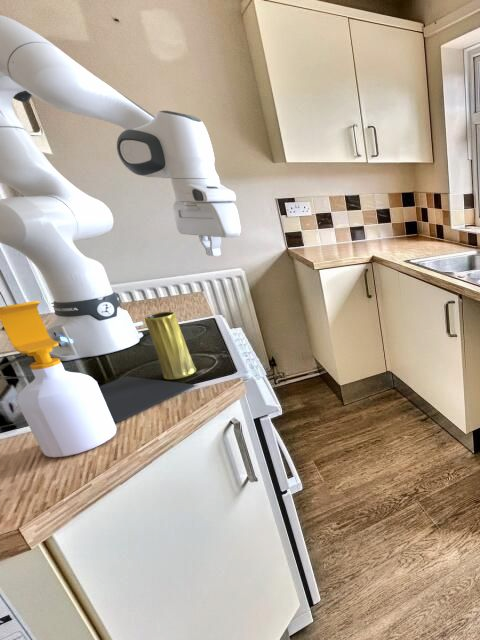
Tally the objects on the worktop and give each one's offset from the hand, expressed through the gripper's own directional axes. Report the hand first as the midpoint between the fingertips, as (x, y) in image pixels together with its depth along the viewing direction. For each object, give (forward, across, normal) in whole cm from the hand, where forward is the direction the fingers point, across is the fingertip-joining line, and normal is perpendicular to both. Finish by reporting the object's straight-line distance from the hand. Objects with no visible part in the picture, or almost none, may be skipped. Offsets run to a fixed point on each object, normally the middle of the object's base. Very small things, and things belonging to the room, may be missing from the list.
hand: (214, 255), depth 99 cm
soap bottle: (+26, +16, -35) cm, 46 cm away
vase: (+25, 0, -13) cm, 29 cm away
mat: (+26, +2, -25) cm, 36 cm away
